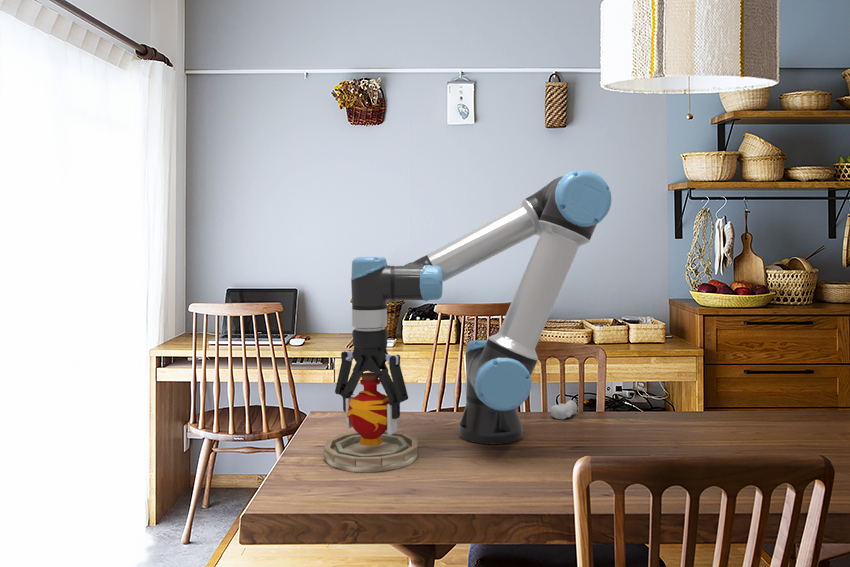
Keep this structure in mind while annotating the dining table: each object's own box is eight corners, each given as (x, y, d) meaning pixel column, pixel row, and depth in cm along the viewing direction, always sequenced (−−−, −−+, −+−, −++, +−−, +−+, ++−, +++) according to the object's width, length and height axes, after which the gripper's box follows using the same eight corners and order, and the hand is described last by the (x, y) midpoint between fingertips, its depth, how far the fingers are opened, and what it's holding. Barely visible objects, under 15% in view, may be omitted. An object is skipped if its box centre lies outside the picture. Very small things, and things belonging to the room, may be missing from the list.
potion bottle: (337, 442, 144) (336, 374, 143) (374, 432, 151) (373, 367, 150) (368, 453, 136) (367, 381, 135) (405, 442, 144) (404, 374, 143)
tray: (433, 449, 148) (433, 437, 148) (386, 478, 130) (385, 464, 130) (359, 437, 157) (359, 426, 157) (306, 462, 140) (305, 449, 140)
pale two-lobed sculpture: (558, 425, 170) (545, 415, 174) (581, 420, 174) (568, 410, 178) (561, 411, 169) (548, 401, 173) (584, 406, 173) (571, 396, 177)
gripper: (424, 329, 140) (425, 432, 141) (337, 323, 151) (339, 419, 152) (406, 333, 133) (407, 441, 135) (317, 327, 144) (319, 427, 146)
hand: (371, 429), depth 144 cm, fingers closed on potion bottle, 10 cm apart
